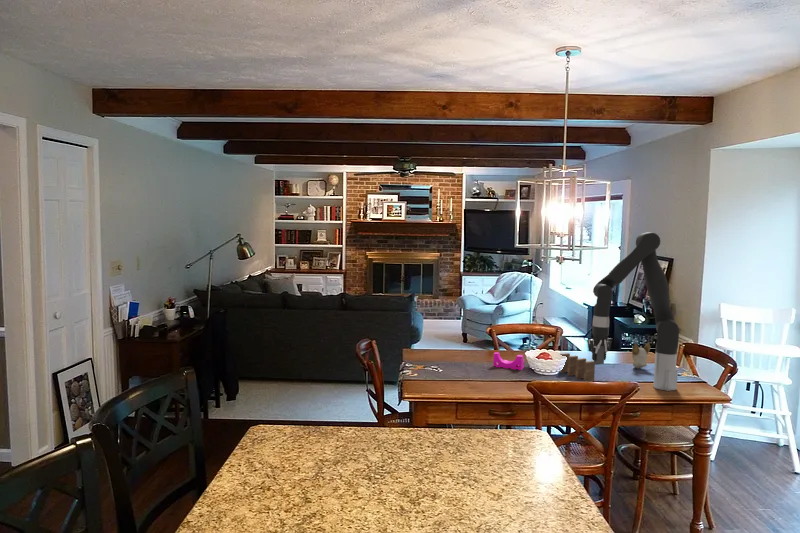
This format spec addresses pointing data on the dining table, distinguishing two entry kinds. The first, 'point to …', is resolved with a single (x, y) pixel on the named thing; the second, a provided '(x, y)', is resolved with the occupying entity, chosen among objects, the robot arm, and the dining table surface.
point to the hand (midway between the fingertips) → (599, 360)
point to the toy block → (508, 362)
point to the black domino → (600, 355)
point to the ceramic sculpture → (640, 355)
